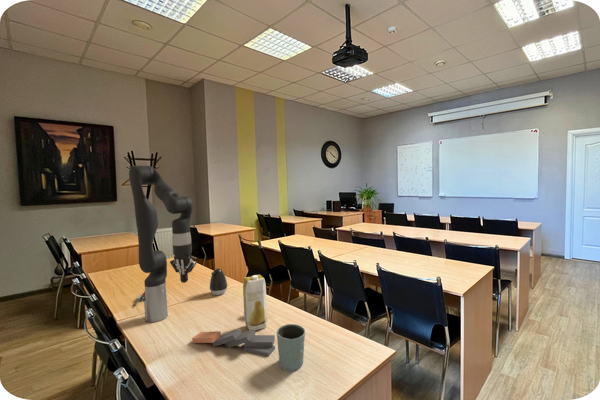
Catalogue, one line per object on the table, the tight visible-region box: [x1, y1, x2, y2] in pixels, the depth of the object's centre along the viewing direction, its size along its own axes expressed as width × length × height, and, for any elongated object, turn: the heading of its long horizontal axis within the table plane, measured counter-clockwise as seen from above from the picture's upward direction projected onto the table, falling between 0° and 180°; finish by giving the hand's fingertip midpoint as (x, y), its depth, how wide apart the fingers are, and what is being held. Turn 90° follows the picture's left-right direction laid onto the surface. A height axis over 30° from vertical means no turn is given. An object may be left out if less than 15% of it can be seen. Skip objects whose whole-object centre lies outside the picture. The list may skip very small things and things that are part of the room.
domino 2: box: [212, 328, 243, 347], centre depth 112 cm, size 2×5×11 cm
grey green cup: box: [276, 323, 306, 372], centre depth 100 cm, size 10×10×12 cm
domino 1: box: [191, 330, 222, 344], centre depth 115 cm, size 2×5×11 cm
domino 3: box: [226, 329, 257, 348], centre depth 111 cm, size 2×5×11 cm
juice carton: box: [242, 274, 268, 331], centre depth 125 cm, size 9×8×24 cm
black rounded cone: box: [209, 268, 228, 296], centre depth 166 cm, size 10×10×15 cm
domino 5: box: [243, 344, 276, 357], centre depth 109 cm, size 2×5×11 cm
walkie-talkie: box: [133, 290, 146, 307], centre depth 162 cm, size 9×4×20 cm
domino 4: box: [244, 334, 276, 347], centre depth 111 cm, size 2×5×11 cm
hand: (184, 282), depth 121 cm, fingers closed
